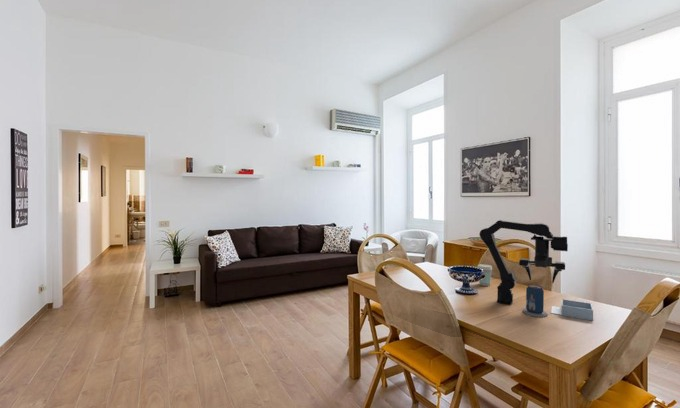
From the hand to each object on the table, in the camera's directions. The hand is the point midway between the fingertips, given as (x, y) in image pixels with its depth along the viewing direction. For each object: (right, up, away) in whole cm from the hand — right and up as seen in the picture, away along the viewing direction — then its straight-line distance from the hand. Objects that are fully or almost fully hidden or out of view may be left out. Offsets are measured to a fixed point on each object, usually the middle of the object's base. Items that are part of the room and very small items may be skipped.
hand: (541, 281), depth 159 cm
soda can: (-7, -13, -7) cm, 16 cm away
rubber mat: (-7, -13, -7) cm, 17 cm away
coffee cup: (-9, -12, +43) cm, 45 cm away
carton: (+11, -13, -5) cm, 18 cm away
